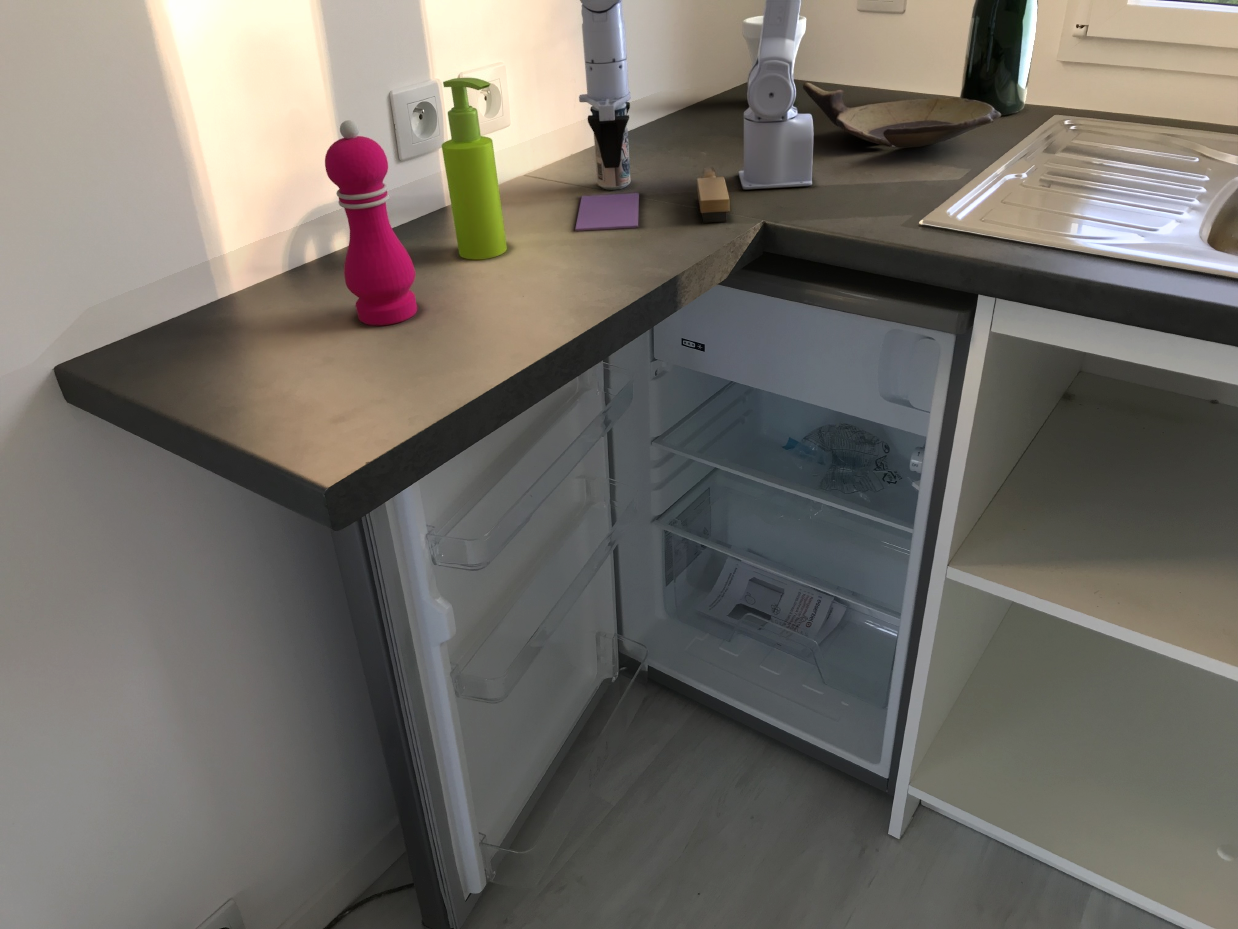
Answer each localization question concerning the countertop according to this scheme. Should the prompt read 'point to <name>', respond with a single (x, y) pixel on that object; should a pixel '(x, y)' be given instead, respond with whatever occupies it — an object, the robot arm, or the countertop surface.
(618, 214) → the cloth
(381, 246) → the pepper mill
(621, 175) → the beer can
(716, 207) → the hand brush
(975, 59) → the beer bottle
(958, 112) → the brown handled bowl
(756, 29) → the cup
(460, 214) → the soap dispenser
